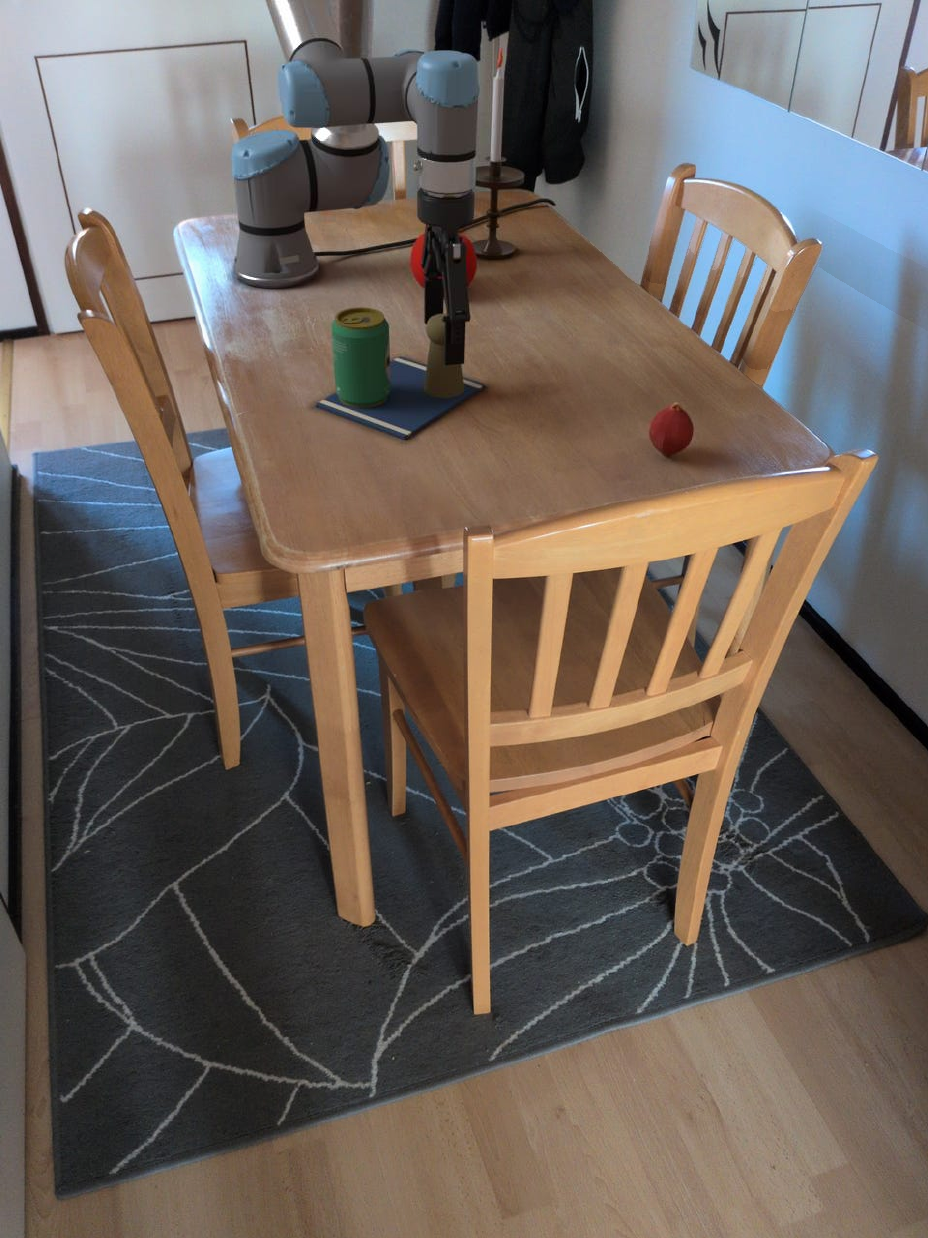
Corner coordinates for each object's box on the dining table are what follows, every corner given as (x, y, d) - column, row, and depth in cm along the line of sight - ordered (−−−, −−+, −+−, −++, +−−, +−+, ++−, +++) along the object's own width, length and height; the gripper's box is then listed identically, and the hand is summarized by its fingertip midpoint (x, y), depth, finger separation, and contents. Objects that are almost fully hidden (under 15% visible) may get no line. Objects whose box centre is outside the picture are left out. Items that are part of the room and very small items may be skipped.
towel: (400, 358, 156) (400, 355, 156) (484, 387, 149) (485, 383, 149) (315, 406, 143) (315, 403, 143) (404, 440, 136) (404, 436, 136)
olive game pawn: (459, 400, 145) (461, 327, 138) (419, 395, 146) (418, 323, 139) (468, 382, 149) (470, 311, 142) (428, 377, 150) (429, 306, 143)
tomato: (487, 297, 176) (489, 237, 169) (427, 307, 172) (427, 246, 165) (457, 274, 184) (459, 216, 178) (400, 283, 180) (399, 224, 173)
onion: (641, 445, 137) (649, 391, 132) (682, 444, 137) (692, 391, 132) (651, 467, 132) (659, 412, 127) (693, 466, 133) (703, 412, 128)
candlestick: (485, 238, 200) (492, 39, 177) (530, 250, 195) (543, 47, 173) (453, 253, 193) (456, 48, 171) (499, 265, 188) (508, 56, 166)
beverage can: (394, 406, 143) (392, 326, 135) (339, 411, 141) (334, 330, 134) (386, 381, 149) (384, 303, 141) (333, 385, 147) (327, 307, 140)
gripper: (400, 161, 138) (401, 308, 152) (438, 223, 119) (436, 384, 133) (452, 159, 139) (449, 305, 153) (498, 219, 121) (490, 379, 135)
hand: (443, 342), depth 143 cm, fingers open, 13 cm apart
